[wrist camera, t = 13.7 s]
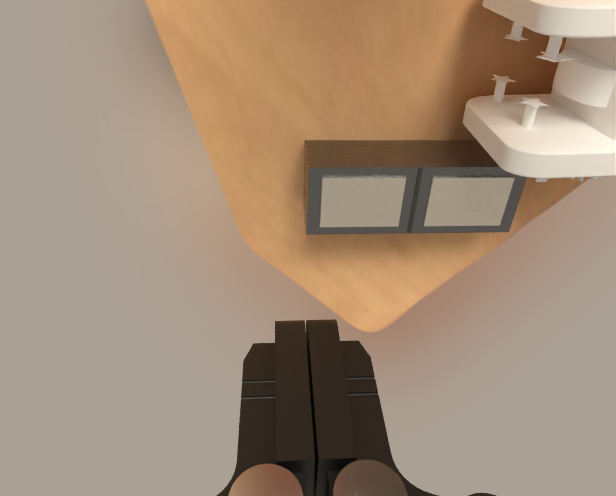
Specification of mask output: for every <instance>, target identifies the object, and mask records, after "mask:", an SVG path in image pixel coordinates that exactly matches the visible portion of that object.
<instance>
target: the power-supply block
mask: <svg viewBox="0 0 616 496" xmlns="http://www.w3.org/2000/svg"><path fill="white" fill-rule="evenodd" d="M525 181H526V177H524V176H519V175H515V174H512V173H509V172H507V171H505V170H503V169H502V168H501V167H500V166H499V165H498V164H497V163H496V162H495V161H494V159H493V158H492V157H491V156H490V155H489V154H488V152H487V151H486V150H485V149H484V148H483V147H482V145H481V144H480V143H479V142H478V141H305V162H304V213H305V223H306V233H307V234H379V233H467V232H509V229H510V226H511V223H512V220H513V217H514V214H515V211H516V208H517V205H518V202H519V199H520V196H521V193H522V190H523V187H524V184H525Z"/></svg>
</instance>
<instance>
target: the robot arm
mask: <svg viewBox="0 0 616 496" xmlns="http://www.w3.org/2000/svg"><path fill="white" fill-rule="evenodd" d="M217 496H437V495H434V494H431V493H428V492H425V491H423V490H421V489H419V488H417V487H415V486H414V485H412V484H411V483H410V482H409V481H407V480H406V479H405V478H404V477H403V476H402V474H401V473H400V472H399V470H398V469H397V467H396V466H395V463H394V461H393V459H392V455H391V451H390V446H389V442H388V437H387V432H386V428H385V423H384V418H383V414H382V409H381V405H380V399H379V396H378V390H377V385H376V381H375V378H374V371H373V367H372V362H371V357H370V356H369V355H368V353H367V352H366V350H365V349H364V348H363V346H362V345H361V344H360V342H359V341H340V338H339V332H338V326H337V321H336V320H307V321H306V332H305V322H304V320H302V321H275V343H257V344H253V345H252V347H251V349H250V351H249V352H248V354H247V356H246V358H245V359H244V363H243V379H242V393H241V408H240V423H239V439H238V455H237V464H236V469H235V472H234V475H233V477H232V479H231V481H230V482H229V483H228V485H227V486H226V487H225V489H224V490H223V491H222V492H221V493H220V494H219V495H217ZM469 496H495V495H492V494H488V493H475V494H472V495H469Z"/></svg>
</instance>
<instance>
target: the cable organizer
mask: <svg viewBox="0 0 616 496" xmlns="http://www.w3.org/2000/svg"><path fill="white" fill-rule="evenodd" d="M482 5H483V7H485V8H487V9H489V10H491V11H493V12H495V13H497V14H499V15H501V16H503V17H505V18H507V19H509V20H511V21H513V26H512V31H511V35H509V34H505V35H507V37H503V38H506V39H511V40H516V41H518V42H519V41H520V40H530V39H526V38H522V36H521V35H522V31H523V27H526V28H528V29H530V30H532V31H534V32H536V33H540V34H543V35H548V36H550V38H549V42H548V45H547V49H546V52H541V51H540V52H541V53H542V54H544V55H541V56H536V57H537V58H541V59H544V60H548V61H552V62H559V63H558V67H557V70H556V74H555V77H554V81H553V88H552V92H551V94H524V95H504V92H505V88H506V84H507V82H516V81H513V80H511V79H509V77H508V76H498V75H494V74H493V76H494V77H495V78H493V79H491V80H497V82H496V87H495V91H494V95H489V96H480V97H475V98H472V99H470V100H468V101H467V102H466V107H465V112H464V117H463V124H464V126H465V127H466V128H467V129H468V130H469V132H470V133H471V134H472V135H473V136H474V137H475V139H476V140H477V141H478V142H479V143H480V144H481V145H482V147H483V148H484V149H485V150H486V151H487V152H488V154H489V155H490V156H491V157H492V158H493V159H494V161H495V162H496V163H497V164H498V165H499V166H500V167H501V168H502V169H503V170H505V171H507V172H509V173H512V174H515V175H519V176H524V177H530V178H536V180H535V181H536V182H547V180H548V179H552V178H571V179H572V180H574V178H575V177H577V178H578V179H579V180H580V181H583V179H584V177H589V178H591V179H592V180H598V179H599V178H600V177H602V176H603V177H607V176H612V177H614V176H616V0H483V4H482ZM563 37H564V38H567V40H566V44H565V47H564V49H563V50H562V53H559V50H560V47H561V43H562V40H563Z"/></svg>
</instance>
